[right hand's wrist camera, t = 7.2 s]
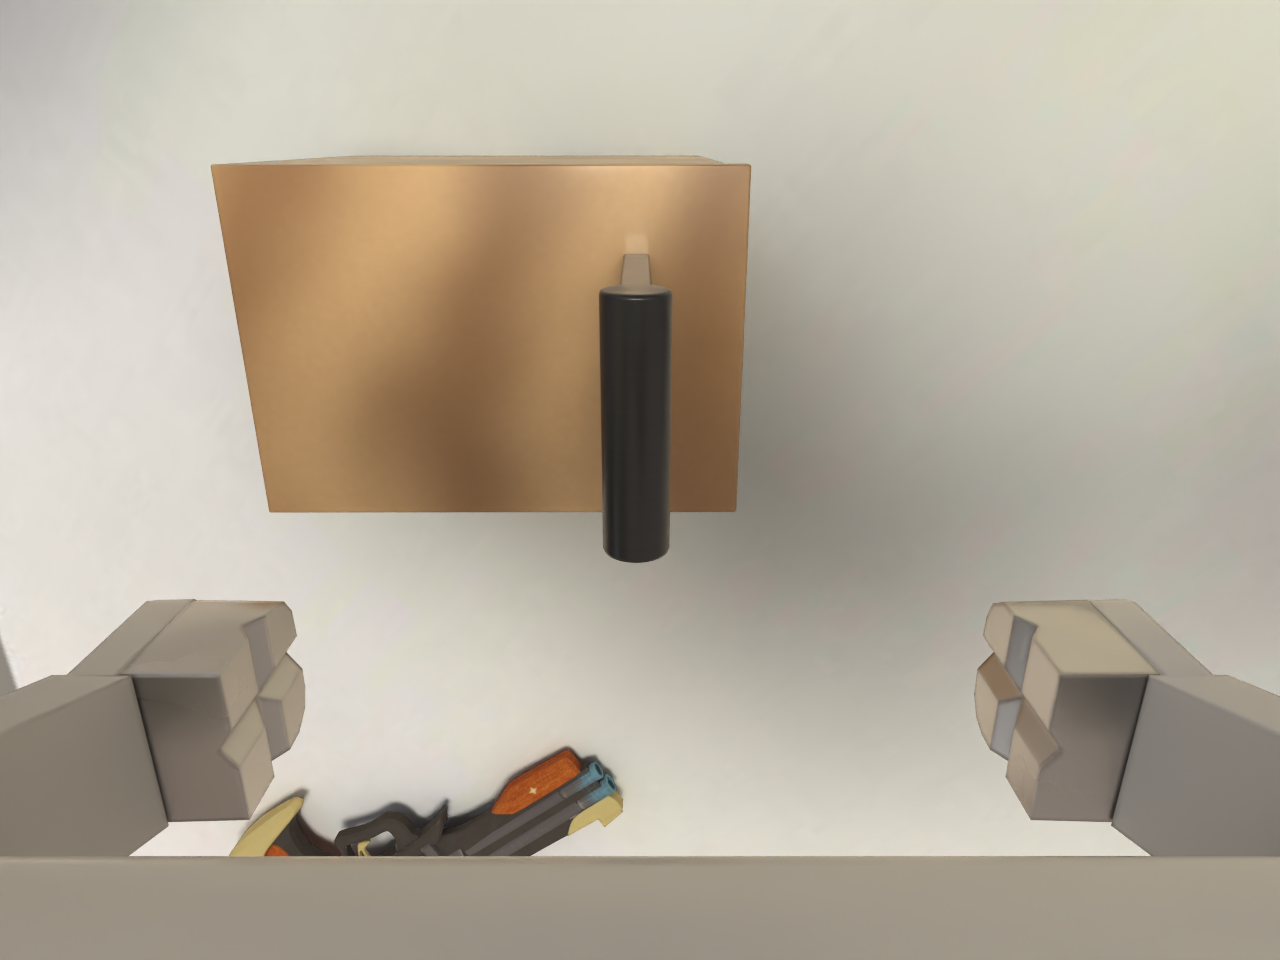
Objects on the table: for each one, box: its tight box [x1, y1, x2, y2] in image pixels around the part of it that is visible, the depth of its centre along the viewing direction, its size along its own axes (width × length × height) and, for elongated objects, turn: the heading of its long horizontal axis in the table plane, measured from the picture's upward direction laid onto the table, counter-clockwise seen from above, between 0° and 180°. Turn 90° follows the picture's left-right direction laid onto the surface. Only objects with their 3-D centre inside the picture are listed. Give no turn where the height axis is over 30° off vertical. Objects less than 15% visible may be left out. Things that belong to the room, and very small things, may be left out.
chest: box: [231, 156, 725, 164], centre depth 31 cm, size 14×10×11 cm
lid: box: [211, 164, 751, 563], centre depth 21 cm, size 14×10×8 cm
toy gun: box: [229, 750, 623, 856], centre depth 45 cm, size 3×19×10 cm
